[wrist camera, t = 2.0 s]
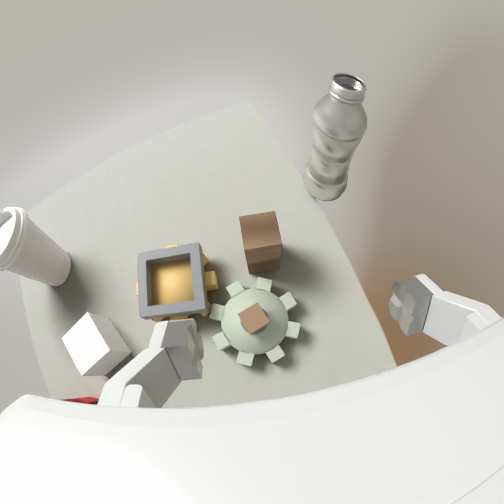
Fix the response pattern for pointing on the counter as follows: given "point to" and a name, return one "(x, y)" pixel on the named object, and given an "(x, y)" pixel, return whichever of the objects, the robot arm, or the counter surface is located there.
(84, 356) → the white cube
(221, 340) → the gear
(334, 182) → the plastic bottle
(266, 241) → the peg
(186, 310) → the frame
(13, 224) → the coffee cup
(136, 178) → the counter surface
